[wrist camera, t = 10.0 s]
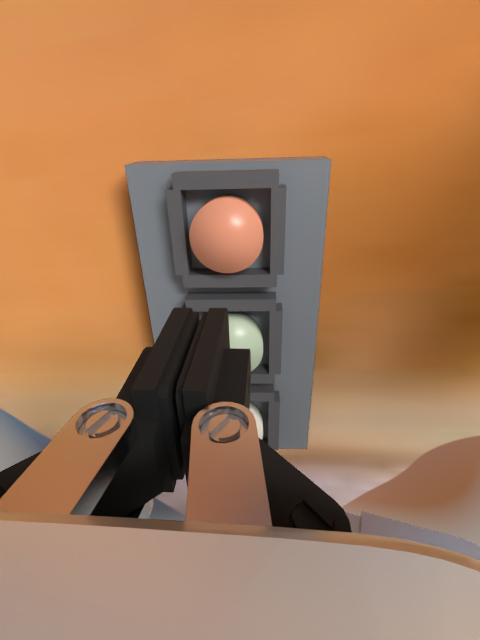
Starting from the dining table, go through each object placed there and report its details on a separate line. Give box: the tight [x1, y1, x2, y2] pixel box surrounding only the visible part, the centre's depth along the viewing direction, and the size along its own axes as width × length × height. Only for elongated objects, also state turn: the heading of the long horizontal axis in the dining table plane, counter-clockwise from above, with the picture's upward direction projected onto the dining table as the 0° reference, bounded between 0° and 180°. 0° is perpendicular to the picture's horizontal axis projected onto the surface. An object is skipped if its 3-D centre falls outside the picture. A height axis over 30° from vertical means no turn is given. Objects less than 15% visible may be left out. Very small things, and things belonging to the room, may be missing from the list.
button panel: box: [125, 157, 331, 450], centre depth 31 cm, size 14×27×4 cm, turn 2°
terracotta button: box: [189, 195, 263, 273], centre depth 25 cm, size 5×5×2 cm
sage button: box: [228, 311, 263, 371], centre depth 29 cm, size 5×5×2 cm
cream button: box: [249, 401, 263, 440], centre depth 33 cm, size 5×5×2 cm
